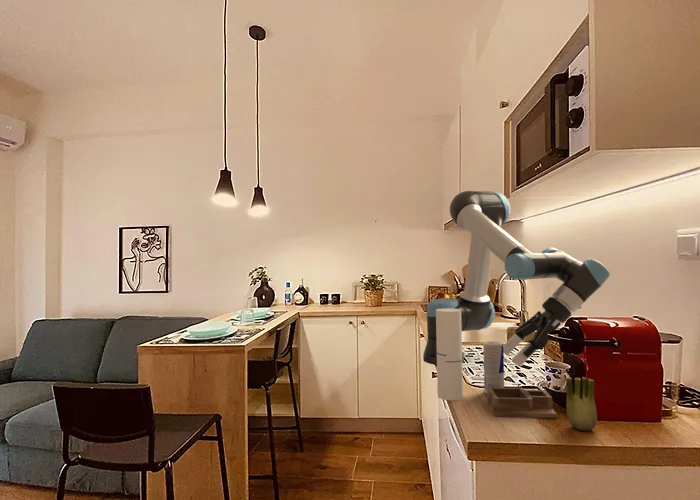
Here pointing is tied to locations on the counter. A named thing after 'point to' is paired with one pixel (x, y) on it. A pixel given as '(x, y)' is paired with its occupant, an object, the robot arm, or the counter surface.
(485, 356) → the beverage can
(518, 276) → the robot arm
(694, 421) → the counter surface
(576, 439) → the counter surface
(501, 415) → the socket board
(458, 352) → the cylindrical container
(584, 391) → the fennel bulb
